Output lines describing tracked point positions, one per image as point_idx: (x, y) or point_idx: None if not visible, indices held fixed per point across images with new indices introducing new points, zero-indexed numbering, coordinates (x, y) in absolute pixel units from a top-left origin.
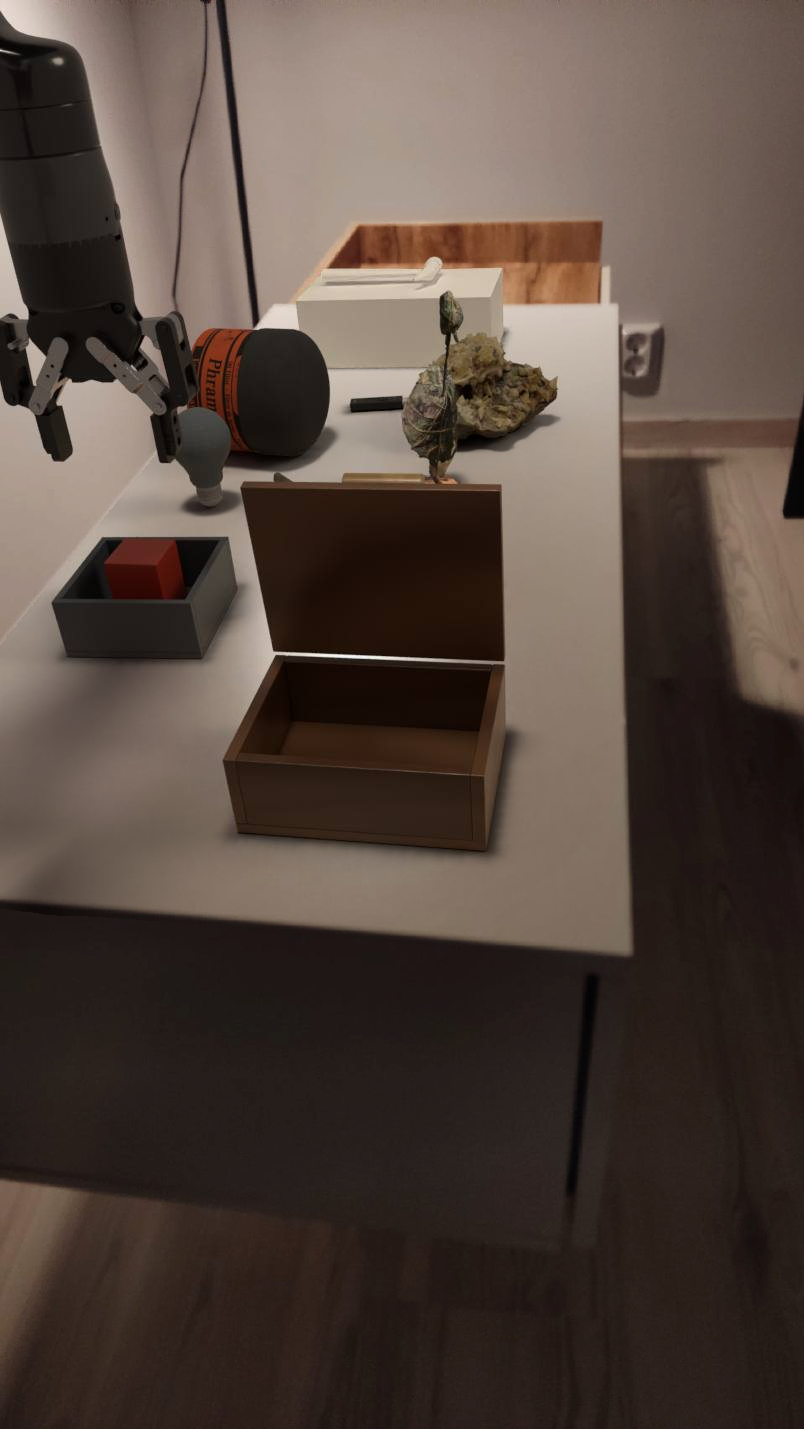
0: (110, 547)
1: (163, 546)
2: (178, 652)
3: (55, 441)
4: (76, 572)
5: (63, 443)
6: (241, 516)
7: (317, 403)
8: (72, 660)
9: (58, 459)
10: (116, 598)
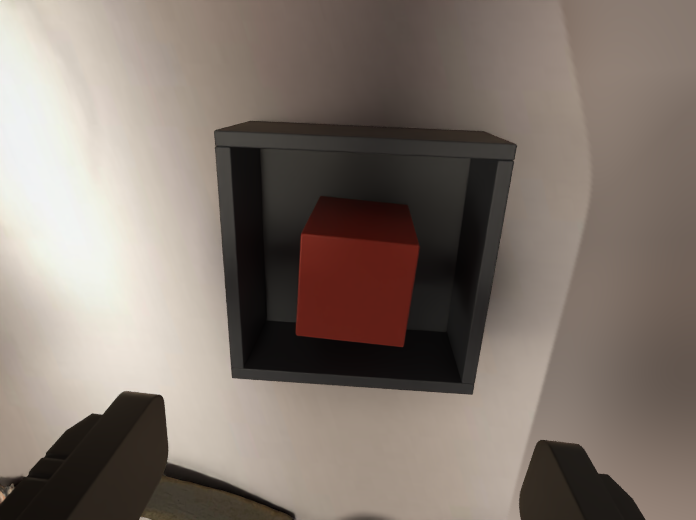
0: (454, 373)
1: (310, 308)
2: (284, 123)
3: (580, 506)
4: (491, 266)
5: (549, 517)
6: (314, 509)
7: None
8: (472, 121)
9: (556, 444)
10: (404, 219)
